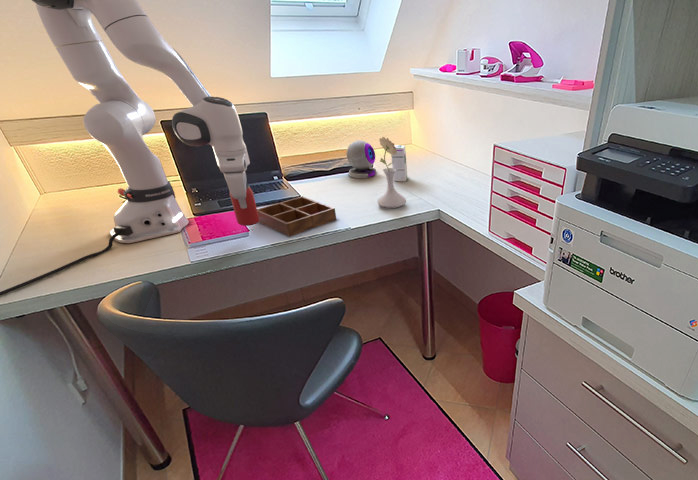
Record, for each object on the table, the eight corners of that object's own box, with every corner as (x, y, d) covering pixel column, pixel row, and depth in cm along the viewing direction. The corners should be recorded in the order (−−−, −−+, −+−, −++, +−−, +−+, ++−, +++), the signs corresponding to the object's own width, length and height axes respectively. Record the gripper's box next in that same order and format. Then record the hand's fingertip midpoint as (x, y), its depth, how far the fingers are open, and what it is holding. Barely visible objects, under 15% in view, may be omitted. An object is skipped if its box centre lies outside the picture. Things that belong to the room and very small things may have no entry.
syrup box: (405, 181, 193) (404, 148, 184) (393, 181, 193) (390, 147, 184) (407, 177, 197) (405, 145, 189) (394, 177, 197) (392, 144, 189)
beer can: (252, 227, 135) (242, 190, 128) (233, 225, 135) (222, 188, 129) (264, 220, 140) (255, 184, 133) (246, 217, 141) (236, 181, 134)
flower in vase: (411, 207, 165) (407, 140, 151) (383, 212, 161) (377, 143, 146) (398, 197, 175) (394, 133, 160) (372, 201, 170) (365, 135, 156)
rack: (289, 236, 141) (286, 224, 138) (257, 222, 150) (254, 209, 148) (336, 220, 153) (334, 208, 151) (304, 207, 163) (302, 196, 160)
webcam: (369, 179, 194) (366, 144, 186) (344, 176, 196) (339, 142, 188) (380, 171, 205) (377, 138, 196) (356, 169, 207) (352, 136, 198)
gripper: (222, 150, 133) (234, 193, 141) (218, 168, 117) (232, 215, 125) (244, 149, 135) (254, 192, 143) (243, 166, 120) (255, 213, 127)
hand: (244, 203), depth 134 cm, fingers closed on beer can, 6 cm apart
